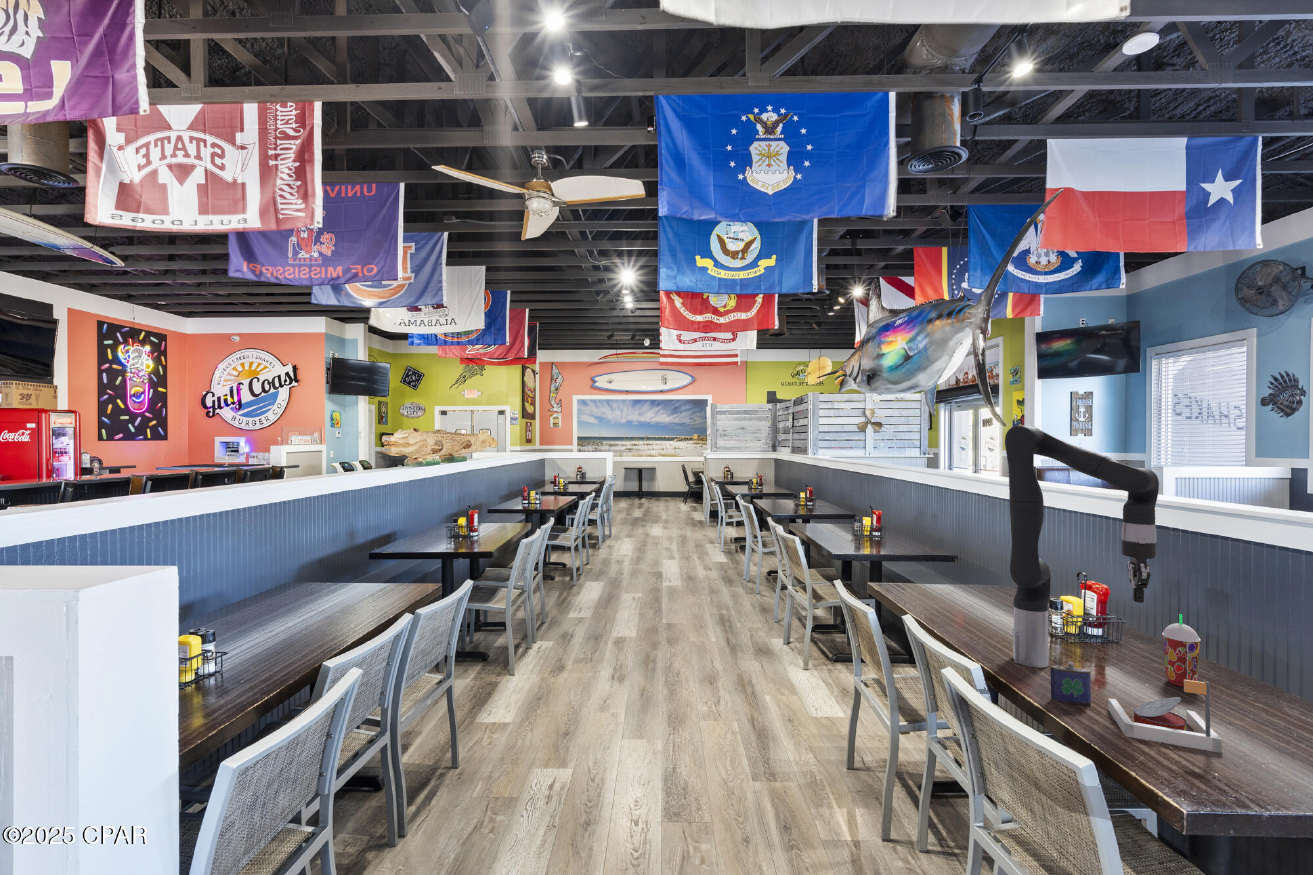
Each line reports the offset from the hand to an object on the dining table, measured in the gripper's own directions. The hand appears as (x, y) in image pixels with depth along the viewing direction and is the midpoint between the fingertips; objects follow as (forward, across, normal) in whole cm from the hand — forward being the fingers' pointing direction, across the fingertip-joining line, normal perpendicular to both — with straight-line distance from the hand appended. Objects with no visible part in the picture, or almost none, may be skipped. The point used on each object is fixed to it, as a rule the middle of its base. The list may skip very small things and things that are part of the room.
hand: (1138, 601), depth 163 cm
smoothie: (+25, -14, +13) cm, 32 cm away
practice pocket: (+25, +24, -1) cm, 35 cm away
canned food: (+26, +24, -1) cm, 35 cm away
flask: (+26, +16, -18) cm, 35 cm away
